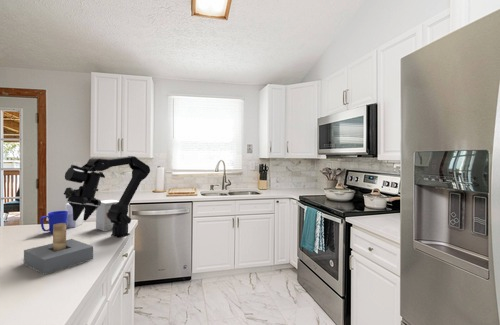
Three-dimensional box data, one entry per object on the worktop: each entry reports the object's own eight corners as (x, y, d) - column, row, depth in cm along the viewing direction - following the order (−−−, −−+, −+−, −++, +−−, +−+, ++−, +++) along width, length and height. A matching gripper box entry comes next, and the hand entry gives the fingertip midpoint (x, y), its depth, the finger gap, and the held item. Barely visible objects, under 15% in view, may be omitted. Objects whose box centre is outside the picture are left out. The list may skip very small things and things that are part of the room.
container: (69, 223, 151) (69, 201, 151) (83, 223, 152) (83, 201, 151) (60, 227, 143) (61, 203, 143) (75, 227, 144) (75, 203, 144)
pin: (56, 256, 100) (56, 223, 100) (68, 256, 101) (68, 222, 101) (50, 261, 96) (50, 225, 96) (62, 260, 97) (62, 225, 97)
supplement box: (104, 231, 138) (104, 203, 137) (95, 228, 142) (95, 201, 142) (120, 227, 145) (121, 201, 145) (111, 225, 150) (112, 199, 150)
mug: (35, 234, 129) (35, 214, 129) (61, 228, 141) (61, 210, 140) (46, 236, 126) (46, 216, 126) (71, 230, 138) (71, 211, 137)
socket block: (71, 250, 110) (71, 238, 109) (93, 259, 102) (93, 246, 101) (23, 263, 96) (23, 250, 96) (44, 274, 88) (44, 259, 88)
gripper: (81, 184, 126) (71, 217, 122) (59, 179, 108) (47, 217, 104) (105, 188, 127) (96, 221, 123) (88, 183, 109) (76, 221, 105)
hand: (79, 220), depth 114 cm, fingers open, 9 cm apart
